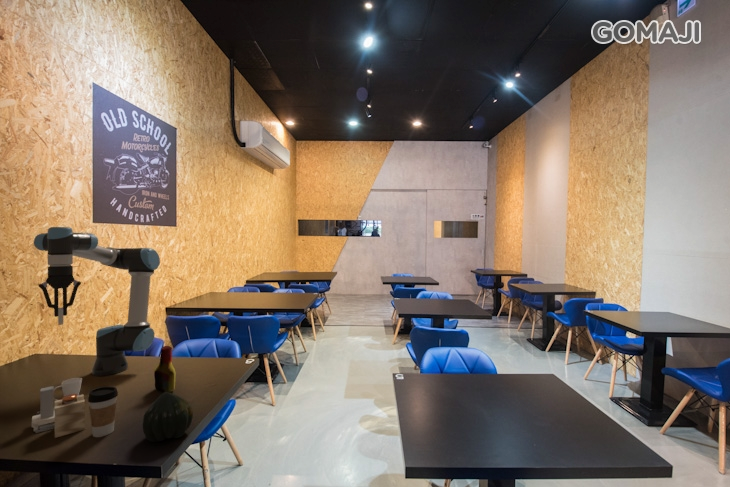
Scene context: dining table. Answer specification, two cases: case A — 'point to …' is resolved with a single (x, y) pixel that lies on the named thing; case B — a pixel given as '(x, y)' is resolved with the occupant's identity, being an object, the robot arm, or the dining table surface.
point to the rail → (45, 426)
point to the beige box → (69, 416)
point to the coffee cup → (102, 410)
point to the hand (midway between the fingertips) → (60, 324)
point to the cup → (71, 386)
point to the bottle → (165, 371)
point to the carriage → (45, 408)
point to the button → (69, 398)
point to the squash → (167, 417)
